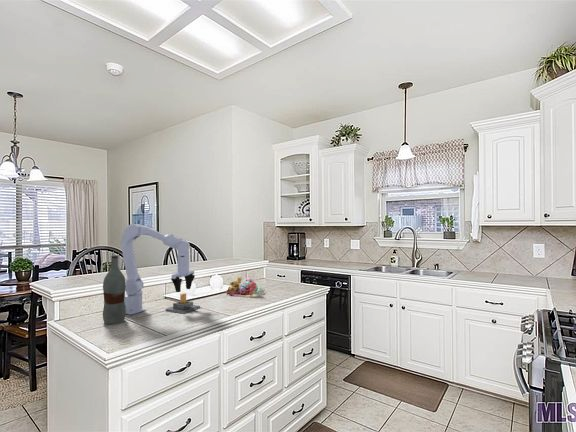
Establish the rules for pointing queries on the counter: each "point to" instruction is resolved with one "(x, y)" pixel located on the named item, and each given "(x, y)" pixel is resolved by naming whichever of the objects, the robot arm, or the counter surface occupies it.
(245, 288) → the pastel sphere sculpture
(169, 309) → the grey slotted socket block
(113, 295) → the bottle
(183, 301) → the round-ended pin
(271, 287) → the counter surface
